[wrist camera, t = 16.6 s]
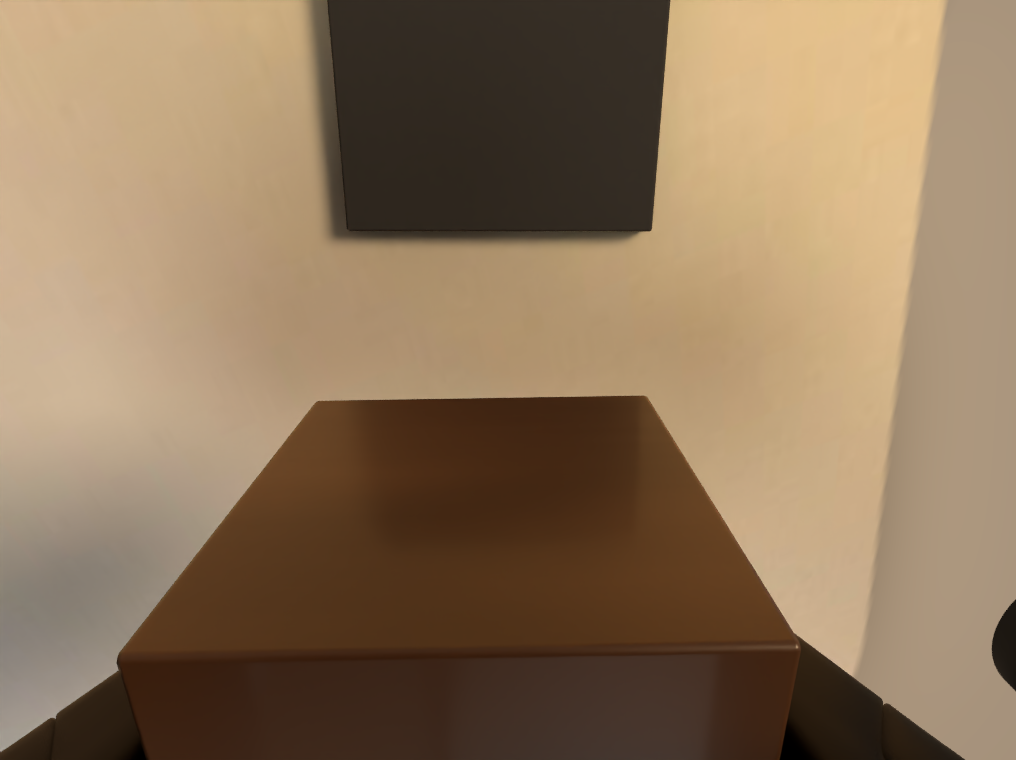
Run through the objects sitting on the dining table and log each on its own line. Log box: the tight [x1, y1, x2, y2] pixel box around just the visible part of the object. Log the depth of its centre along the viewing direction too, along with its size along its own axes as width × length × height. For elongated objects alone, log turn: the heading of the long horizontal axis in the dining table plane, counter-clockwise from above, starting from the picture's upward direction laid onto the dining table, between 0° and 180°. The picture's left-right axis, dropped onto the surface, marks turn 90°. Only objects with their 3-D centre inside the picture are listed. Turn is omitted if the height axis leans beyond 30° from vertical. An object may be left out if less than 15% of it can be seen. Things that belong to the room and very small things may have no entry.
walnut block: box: [117, 396, 801, 760], centre depth 7 cm, size 5×5×5 cm
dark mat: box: [327, 0, 670, 231], centre depth 16 cm, size 9×8×1 cm
